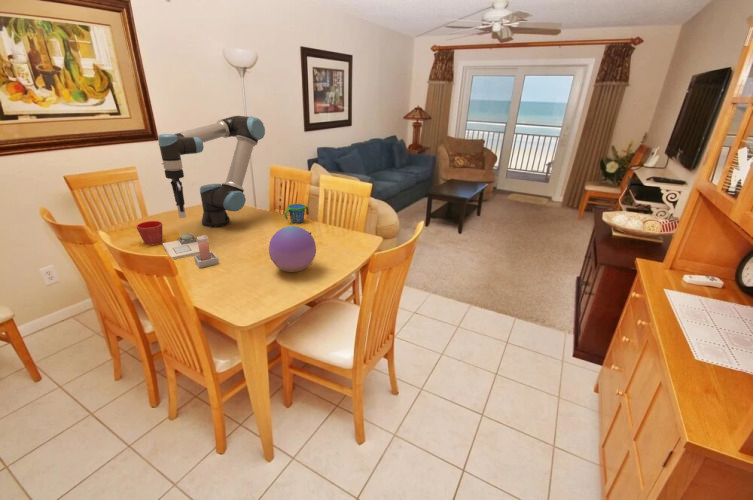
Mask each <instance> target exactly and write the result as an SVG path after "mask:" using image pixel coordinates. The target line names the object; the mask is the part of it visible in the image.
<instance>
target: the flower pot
mask: <svg viewBox="0 0 753 500" xmlns="http://www.w3.org/2000/svg"><path fill="white" fill-rule="evenodd" d="M135 228H136V230H137V231H138V233H139V235H140V237H141V239H142V241H143V243H144V244H145V245H147V246H154V245H155V246H156V245H159V244H162V242H163V237H164V235H163V222H162V221H159V220H149V221H144V222H141V223H138V224H136V227H135Z"/></svg>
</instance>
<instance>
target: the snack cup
mask: <svg viewBox="0 0 753 500" xmlns="http://www.w3.org/2000/svg"><path fill="white" fill-rule="evenodd" d="M288 212H289V218H290V222H291V223H292V222H293V223H292V224H295V223H299V224H302V223H301V222H303V223H304V222H305V213H306V215H307V216H308V215H309V214H310V211H309V207H308V206H307V205H305V204H303V203H292V204H289V205H288V206H287V208H286V209H285V212H284V218H285V219H286V220H288V219H289V218H288Z"/></svg>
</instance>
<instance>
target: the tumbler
mask: <svg viewBox="0 0 753 500" xmlns="http://www.w3.org/2000/svg"><path fill="white" fill-rule="evenodd" d="M196 241H197V243H198V246H199V251H200V254H199V255H200V257H201V261H204V260H209V259H211V256H210V252H211V251H210V246H209V239H208V235H204V234H202V235H198V236H197V237H196Z"/></svg>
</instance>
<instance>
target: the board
mask: <svg viewBox="0 0 753 500" xmlns="http://www.w3.org/2000/svg"><path fill="white" fill-rule="evenodd" d="M192 237H193V238H192V239H190V240H182V239H181V236H180V237H178V239H177V240H174V241H169V242H163V243H162V245H163V248H164V250H165V251H166V253H167V254H168V256H169V257H170V256H171V257H172V258H173V260H177V259H181V258H185V257H191V256H196V255H200V251H199V246H198V241H197V238H195V236H194V235H193V234H192Z"/></svg>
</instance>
